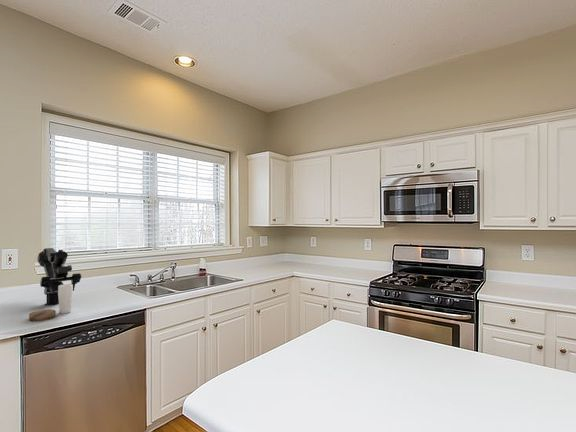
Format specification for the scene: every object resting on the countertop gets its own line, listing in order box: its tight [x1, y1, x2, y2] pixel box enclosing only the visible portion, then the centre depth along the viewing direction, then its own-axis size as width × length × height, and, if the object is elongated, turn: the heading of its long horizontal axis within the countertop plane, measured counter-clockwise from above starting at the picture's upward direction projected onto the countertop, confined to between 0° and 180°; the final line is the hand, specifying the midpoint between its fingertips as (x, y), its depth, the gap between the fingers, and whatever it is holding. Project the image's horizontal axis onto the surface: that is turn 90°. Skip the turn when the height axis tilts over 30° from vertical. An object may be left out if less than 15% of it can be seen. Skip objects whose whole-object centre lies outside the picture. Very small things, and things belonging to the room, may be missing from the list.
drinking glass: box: [58, 283, 74, 315], centre depth 179 cm, size 7×7×15 cm
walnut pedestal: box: [28, 308, 57, 323], centre depth 169 cm, size 11×11×3 cm
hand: (63, 291), depth 181 cm, fingers open, 9 cm apart
